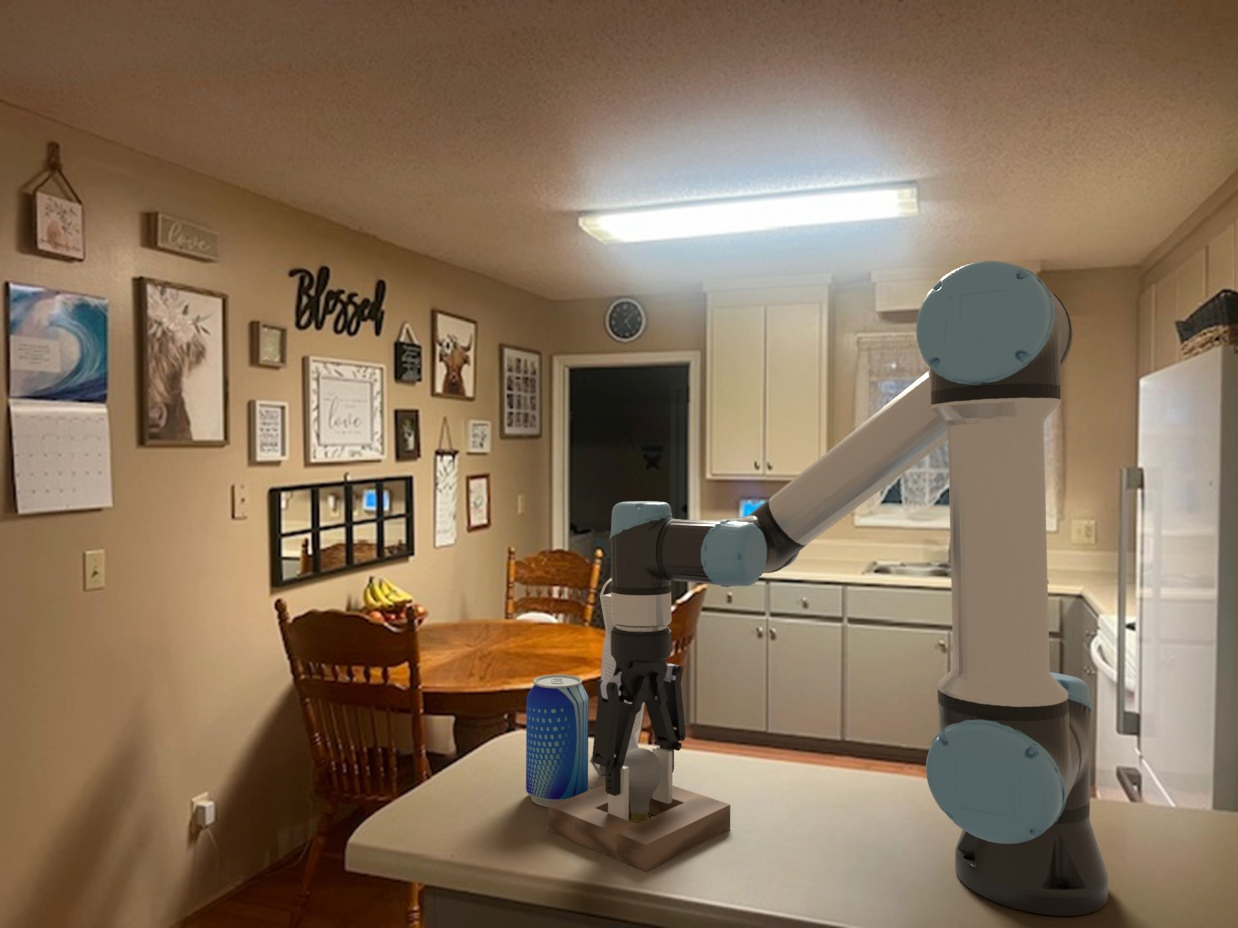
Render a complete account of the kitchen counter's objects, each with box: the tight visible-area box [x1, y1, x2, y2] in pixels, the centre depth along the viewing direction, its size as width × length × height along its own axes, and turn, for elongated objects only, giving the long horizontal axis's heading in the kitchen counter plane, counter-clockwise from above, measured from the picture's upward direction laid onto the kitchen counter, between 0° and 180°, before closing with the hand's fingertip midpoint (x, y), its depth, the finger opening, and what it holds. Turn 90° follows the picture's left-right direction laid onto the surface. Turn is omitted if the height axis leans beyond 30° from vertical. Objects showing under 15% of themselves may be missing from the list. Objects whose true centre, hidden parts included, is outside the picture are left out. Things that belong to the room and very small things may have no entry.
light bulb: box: [623, 747, 662, 824], centre depth 110 cm, size 6×6×10 cm
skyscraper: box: [590, 577, 646, 776], centre depth 134 cm, size 8×8×28 cm
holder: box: [548, 784, 731, 872], centre depth 110 cm, size 16×16×3 cm
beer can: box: [525, 674, 590, 808], centre depth 120 cm, size 8×8×16 cm
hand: (640, 809), depth 110 cm, fingers open, 8 cm apart
